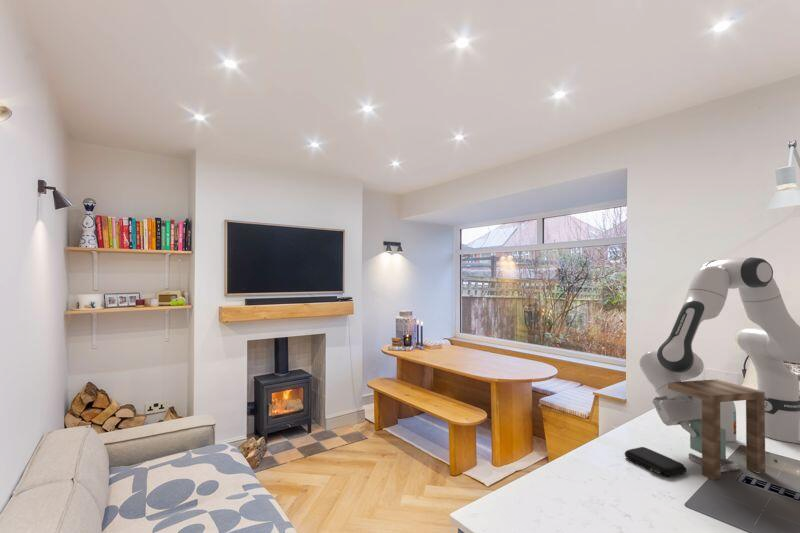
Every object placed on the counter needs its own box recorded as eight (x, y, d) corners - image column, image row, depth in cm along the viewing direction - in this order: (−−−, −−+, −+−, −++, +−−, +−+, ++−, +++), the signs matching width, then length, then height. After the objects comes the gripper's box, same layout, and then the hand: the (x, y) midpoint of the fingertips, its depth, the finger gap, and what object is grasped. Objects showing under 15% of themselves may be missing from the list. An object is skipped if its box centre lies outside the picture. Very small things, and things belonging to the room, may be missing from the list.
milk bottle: (730, 444, 133) (729, 386, 134) (704, 436, 140) (703, 381, 141) (740, 440, 137) (740, 384, 137) (714, 432, 144) (714, 379, 144)
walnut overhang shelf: (716, 451, 128) (716, 379, 128) (765, 472, 114) (764, 391, 115) (668, 457, 123) (668, 382, 124) (712, 479, 110) (712, 395, 110)
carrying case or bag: (619, 458, 122) (665, 482, 109) (619, 449, 123) (665, 471, 109) (642, 453, 126) (689, 475, 113) (642, 444, 126) (689, 465, 113)
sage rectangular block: (700, 447, 125) (699, 419, 125) (725, 458, 117) (725, 429, 118) (690, 448, 124) (690, 420, 125) (715, 459, 117) (715, 430, 117)
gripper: (655, 393, 128) (683, 434, 118) (704, 389, 132) (734, 429, 123) (644, 402, 132) (670, 442, 122) (691, 398, 137) (720, 437, 127)
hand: (703, 435), depth 122 cm, fingers closed on sage rectangular block, 4 cm apart
